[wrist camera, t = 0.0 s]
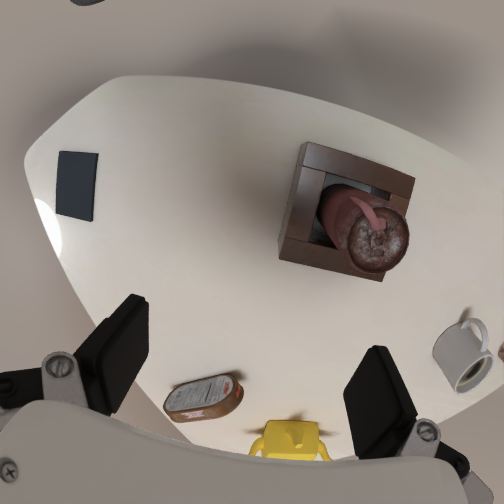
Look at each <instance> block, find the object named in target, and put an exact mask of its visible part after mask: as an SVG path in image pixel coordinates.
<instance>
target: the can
mask: <svg viewBox="0 0 504 504" xmlns="http://www.w3.org/2000/svg"><path fill="white" fill-rule="evenodd" d="M316 215H317V218H318V221H319V222H320V224H321V225H322V227H323V228H324V229H325V231H326V232H327V234H328V235H329V237H330V238H331V240H332V241H333V242H334V244H335V245H336V247H337V248H338V250H339V251H340V253H341V254H342V256H343V257H344V259H345V260H346V261H347V263H348V264H349V265H350V266H351V267H353V268H354V269H356V270H357V271H359V272H364V273H368V274H379V273H384V272H386V271H389V270H391V269H392V268H394V267H395V266H396V265H397V264H398V263H399V262H400V261H401V260H402V258H403V257H404V255H405V253H406V251H407V248H408V245H409V235H410V234H409V229H408V225H407V222H406V219H405V217H404V215H403V214H402V212H401V210H400V209H399V208H397V207H396V206H395V205H394V204H393V203H391V202H388V201H386V200H384V199H381V198H379V197H377V196H374V195H372V194H369V193H367V192H365V191H362V190H360V189H357V188H355V187H352V186H349V185H346V184H333V185H330V186H328V187H327V188H325V189H324V190H323V191H322V192H321V196H320V200H319V204H318V208H317V211H316Z"/></svg>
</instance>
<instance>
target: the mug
mask: <svg viewBox="0 0 504 504" xmlns="http://www.w3.org/2000/svg"><path fill="white" fill-rule="evenodd" d="M471 322H473V323H475V324H476V325H477V326H478V327H479V329H480V331H481V334H482V342H481V341H480V340H479V338H478V337H477V336H476V335H475V334H474V333H473V331H472V330H471V329H470V328H469V327H468V325H469V324H470V323H471ZM488 340H489V338H488V332H487V329H486V327H485V325H484V323H483V322H482V321H481V320H479V319H477V318H471V319H467V320H465V321H464V322H463V323H459V324H455V325H453V326H451V327H450V328H448V329H447V330H446V331H445V332H444V333H443V334H442V335H441V336H440V337H439V339H438V340H437V342H436V344H435V346H434V349H433V356H434V359H435V360H436V362H437V363H438V365H439V366H440V368H441V370H442V371H443V373H444V375H445V376H446V378H447V380H448V381H449V383H450V385H451V386H452V388H453V390H454V391H455V393H456V394H459V395H461V394H465V393H468V392H470V391H471V390H473V389H474V388H476V387H477V386H478V385H479V384H480V383H481V382H482V381H483V380H484V379H485V378H486V377H487V375H488V374H489V372H490V371H491V369H492V367H493V364H494V357H493V355H492V354H491V353H490V351H489V350H488V349H487V347H488Z"/></svg>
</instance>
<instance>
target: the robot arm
mask: <svg viewBox="0 0 504 504" xmlns="http://www.w3.org/2000/svg"><path fill="white" fill-rule="evenodd" d="M148 353H149V303H148V302H146V301H145V298H144V297H142V296H139V295H135V294H130V295H129V296H128V297H127V298H126V299H125V301H124V302H123V303H122V304H121V305H120V306H119V307H118V308H117V309H116V310H115V311H114V313H113V314H112V315H111V316H110V317H109V318H105V319H104V320H103V321H102V322H101V323H100V324H99V325H98V326H97V328H96V329H95V330H94V331H93V332H92V333H91V334H90V335H89V337H88V338H87V339H86V340H85V341H84V342H83V343H82V345H81V346H80V347H79V348H78V349H77V350H76V352H75V353H74V354H73V355H71V354H69V353H66V352H53V353H51V354H49V355H48V356H46V357H45V358H44V360H43V362H42V367H40V368H33V369H25V370H17V371H8V372H3V373H0V504H492V503H493V498H494V497H493V493H492V491H491V490H490V489H489V488H488V487H487V485H486V484H485V483H484V482H483V481H482V480H481V479H480V478H479V477H478V476H477V475H476V474H475V473H474V472H473V471H471V472H470V473H469V470H470V465H469V461H468V459H467V458H466V457H465V456H464V455H463V454H461V453H459V452H458V451H456V450H454V449H453V448H451V447H449V446H448V445H446V444H444V443H443V442H441V441H440V438H441V433H440V429H439V427H438V426H437V425H436V423H434V422H433V421H432V420H429V419H425V418H422V419H419V420H416V416H417V415H418V413H417V411H416V409H415V406H414V404H413V402H412V399H411V397H410V395H409V393H408V390H407V388H406V386H405V384H404V382H403V379H402V377H401V375H400V373H399V371H398V369H397V367H396V365H395V363H394V360H393V358H392V356H391V354H390V352H389V350H388V348H387V347H386V346H378V345H374V346H372V348H369V349H368V350H367V352H366V354H365V356H364V357H363V359H362V361H361V363H360V364H359V366H358V368H357V370H356V371H355V373H354V375H353V376H352V378H351V380H350V381H349V383H348V384H347V386H346V388H345V389H344V393H343V397H344V402H345V406H346V411H347V415H348V420H349V425H350V430H351V435H352V440H353V445H354V450H355V455H356V456H358V457H359V460H348V461H308V460H289V459H277V458H267V457H259V456H251V455H244V454H238V453H232V452H227V451H221V450H216V449H212V448H207V447H203V446H198V445H194V444H190V443H186V442H182V441H179V440H175V439H172V438H169V437H165V436H162V435H159V434H156V433H153V432H150V431H146V430H144V429H141V428H138V427H135V426H132V425H130V424H127V423H124V422H122V421H119V420H117V419H114V418H111V417H110V416H111V414H112V413H114V414H115V413H116V412H117V411H118V409H119V407H120V405H121V403H122V401H123V400H124V398H125V396H126V394H127V392H128V391H129V389H130V387H131V385H132V383H133V381H134V380H135V378H136V376H137V374H138V373H139V371H140V369H141V367H142V366H143V364H144V362H145V360H146V359H147V356H148Z"/></svg>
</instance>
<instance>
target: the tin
mask: <svg viewBox="0 0 504 504" xmlns="http://www.w3.org/2000/svg"><path fill="white" fill-rule="evenodd" d="M243 396H244V390H243V387H242V386H241V385H240V384H239V383H238V381H237V380H236V379H235V378H234V377H233V376H231V375H226V374H225V375H218V376H214V377H210V378H206V379H202V380H197V381H193V382H188V383H185V384H182V385H180V386H178V387H177V388H175V389H174V390H173V391H171V392H170V394H169V395H168V397H167V398H166V400H165V402H164V405H163V409H164V411H165V412H166V414H167V415H168V416H169V417H170V418H171V420H172V421H174V422H177V423H184V422H193V421H201V420H209V419H216V418H220V417H223V416H225V415H227V414H229V413H230V412H232V411H233V410H234V409H236V408H237V406H238V405H239V404H240V403H241V401H242V399H243Z"/></svg>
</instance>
